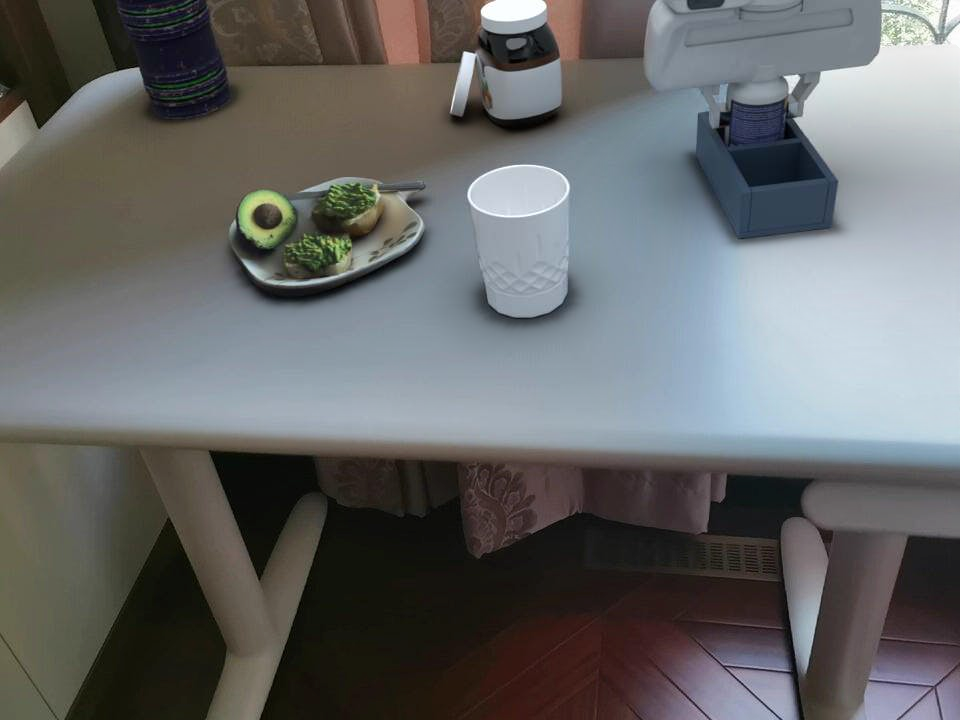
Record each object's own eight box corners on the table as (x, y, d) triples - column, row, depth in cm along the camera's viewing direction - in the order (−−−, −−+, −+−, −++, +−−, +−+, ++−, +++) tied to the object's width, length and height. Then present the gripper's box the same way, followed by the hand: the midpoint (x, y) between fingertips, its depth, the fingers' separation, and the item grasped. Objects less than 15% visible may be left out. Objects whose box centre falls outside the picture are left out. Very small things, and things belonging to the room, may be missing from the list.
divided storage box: (776, 145, 95) (781, 101, 92) (831, 227, 83) (839, 180, 80) (695, 155, 95) (697, 112, 92) (738, 239, 83) (742, 192, 80)
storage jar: (234, 110, 114) (189, -47, 102) (151, 126, 113) (96, -30, 101) (231, 78, 121) (190, -71, 110) (153, 92, 120) (103, -57, 109)
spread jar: (573, 121, 103) (569, 14, 95) (476, 149, 100) (464, 41, 93) (526, 82, 112) (519, -19, 104) (436, 107, 109) (422, 4, 102)
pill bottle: (791, 163, 89) (803, 62, 83) (737, 174, 88) (744, 74, 82) (766, 138, 93) (775, 40, 87) (713, 148, 92) (719, 51, 86)
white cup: (525, 257, 84) (516, 154, 78) (593, 289, 80) (591, 183, 73) (460, 299, 80) (446, 195, 74) (528, 336, 76) (519, 228, 69)
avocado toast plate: (394, 166, 99) (387, 125, 96) (473, 242, 87) (468, 198, 84) (214, 227, 93) (201, 185, 90) (272, 319, 81) (258, 274, 78)
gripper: (877, -61, 82) (854, 91, 91) (639, -30, 82) (639, 119, 91) (908, -38, 77) (880, 121, 86) (655, -5, 77) (653, 150, 86)
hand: (754, 120), depth 88 cm, fingers closed on pill bottle, 5 cm apart
